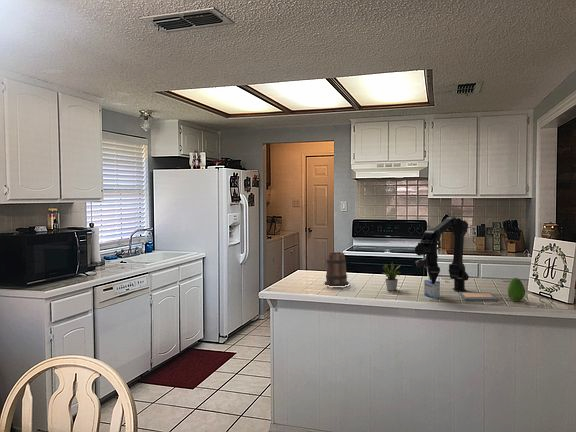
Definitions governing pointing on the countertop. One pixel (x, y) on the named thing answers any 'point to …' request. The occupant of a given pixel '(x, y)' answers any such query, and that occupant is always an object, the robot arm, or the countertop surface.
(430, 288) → the medicine box
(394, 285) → the house plant
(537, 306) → the countertop surface
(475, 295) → the mat
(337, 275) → the tankard
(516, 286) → the avocado
